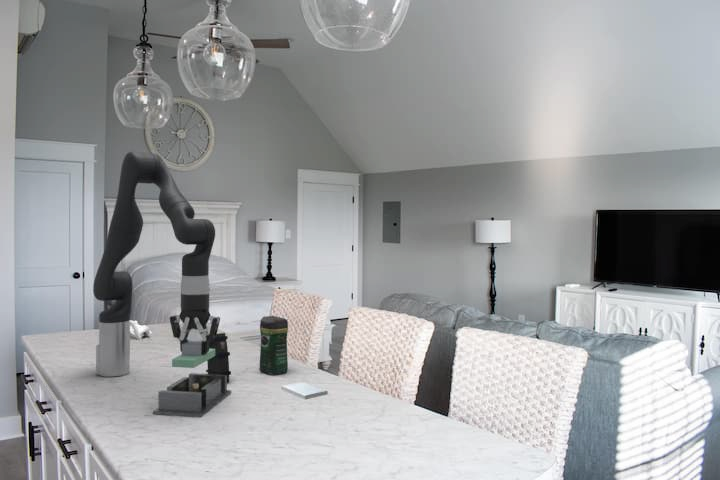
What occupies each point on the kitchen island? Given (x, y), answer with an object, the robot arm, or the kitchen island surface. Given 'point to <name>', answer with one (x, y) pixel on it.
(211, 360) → the magazine
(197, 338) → the ramekin
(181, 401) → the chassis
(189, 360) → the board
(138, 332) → the white irregular lump
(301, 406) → the kitchen island surface
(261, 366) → the coffee jar
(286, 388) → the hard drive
